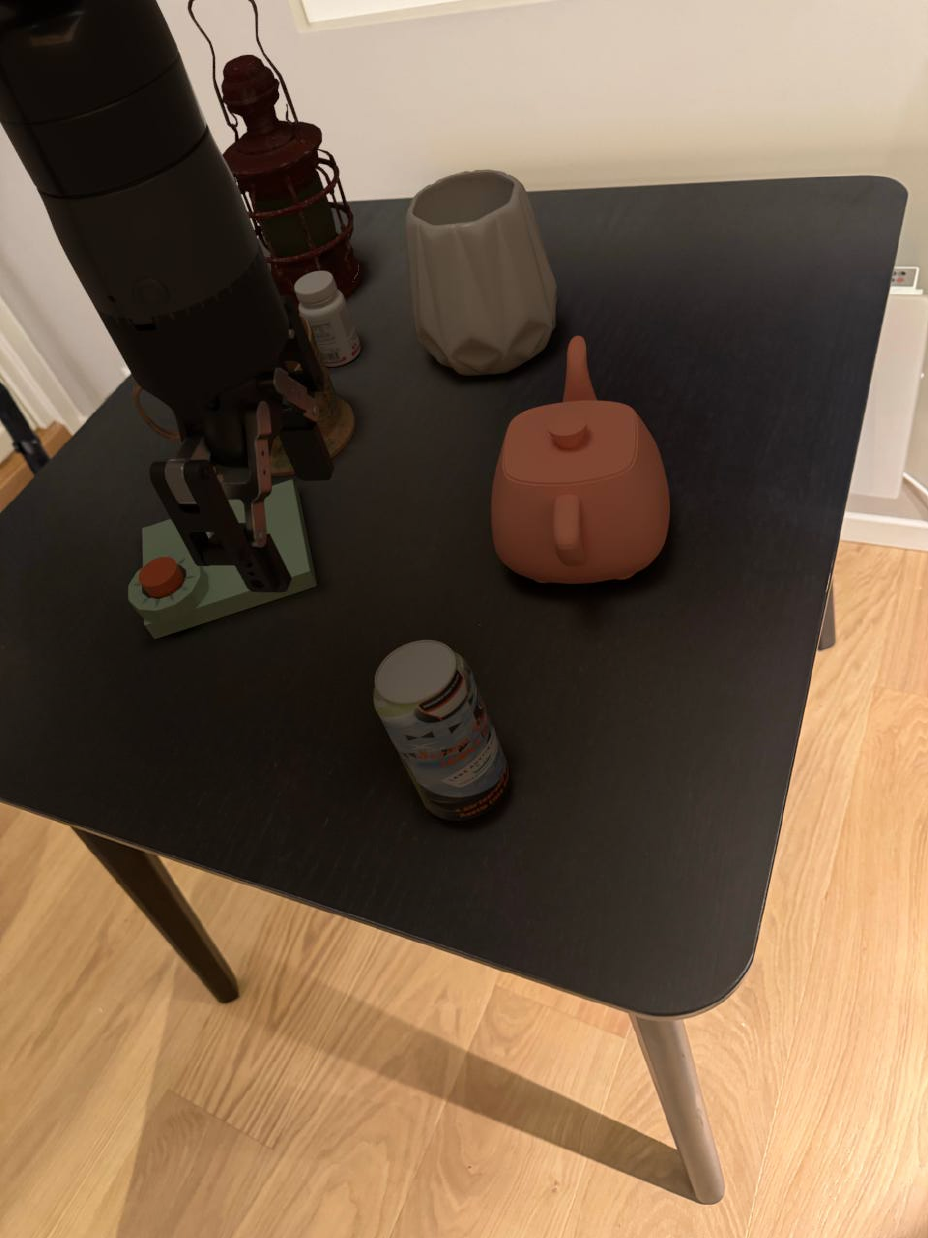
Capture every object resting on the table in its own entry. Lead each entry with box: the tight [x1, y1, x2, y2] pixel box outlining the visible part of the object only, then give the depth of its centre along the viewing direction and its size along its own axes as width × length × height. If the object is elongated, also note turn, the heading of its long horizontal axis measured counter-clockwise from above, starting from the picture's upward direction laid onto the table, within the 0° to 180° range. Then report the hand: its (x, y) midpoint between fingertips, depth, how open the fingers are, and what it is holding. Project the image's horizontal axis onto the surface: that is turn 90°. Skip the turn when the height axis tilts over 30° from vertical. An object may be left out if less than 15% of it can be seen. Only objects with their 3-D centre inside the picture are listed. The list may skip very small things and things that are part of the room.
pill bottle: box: [294, 271, 361, 368], centre depth 94 cm, size 5×5×8 cm
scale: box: [127, 479, 318, 640], centre depth 79 cm, size 14×13×4 cm
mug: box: [131, 314, 356, 477], centre depth 85 cm, size 12×18×12 cm, turn 117°
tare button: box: [139, 557, 184, 599], centre depth 75 cm, size 3×3×2 cm
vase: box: [404, 169, 558, 377], centre depth 87 cm, size 14×14×15 cm
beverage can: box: [372, 639, 511, 822], centre depth 57 cm, size 6×7×12 cm
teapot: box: [490, 335, 671, 585], centre depth 69 cm, size 13×20×12 cm, turn 173°
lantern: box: [186, 0, 364, 312], centre depth 96 cm, size 12×12×30 cm
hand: (296, 529), depth 52 cm, fingers open, 8 cm apart
